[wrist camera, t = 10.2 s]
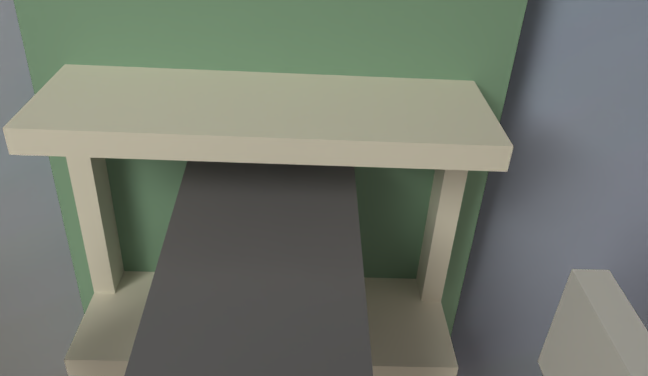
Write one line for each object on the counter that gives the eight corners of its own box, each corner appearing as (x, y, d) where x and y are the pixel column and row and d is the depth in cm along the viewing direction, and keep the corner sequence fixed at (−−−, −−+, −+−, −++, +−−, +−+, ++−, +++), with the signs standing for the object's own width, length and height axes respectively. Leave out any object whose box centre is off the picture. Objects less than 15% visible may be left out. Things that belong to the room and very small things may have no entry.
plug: (191, 145, 16) (123, 376, 10) (352, 151, 16) (373, 381, 10) (203, 262, 18) (155, 498, 13) (341, 266, 18) (353, 500, 13)
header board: (6, -146, 13) (-124, -127, 9) (535, -117, 14) (625, -87, 10) (109, 353, 22) (64, 474, 18) (433, 360, 22) (459, 479, 18)
